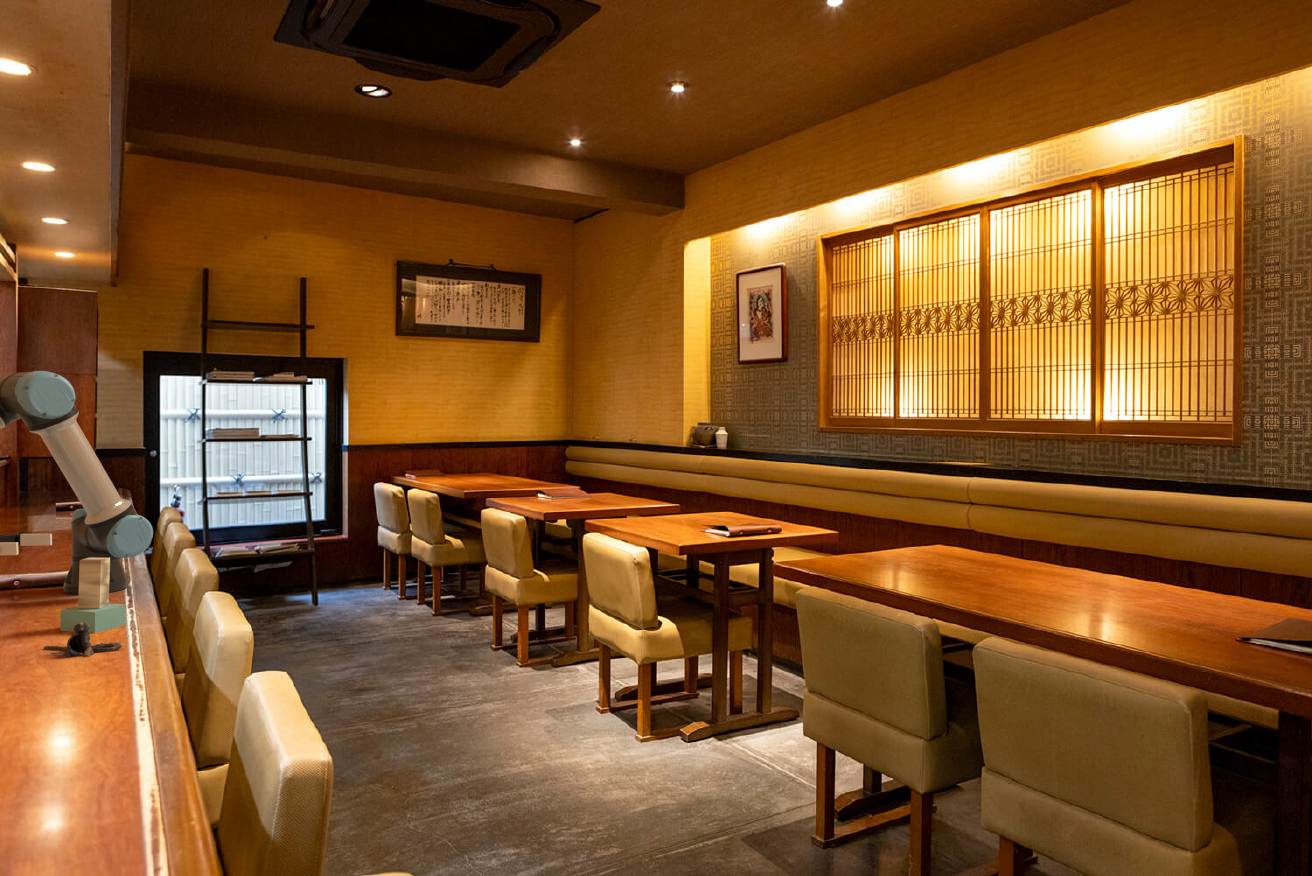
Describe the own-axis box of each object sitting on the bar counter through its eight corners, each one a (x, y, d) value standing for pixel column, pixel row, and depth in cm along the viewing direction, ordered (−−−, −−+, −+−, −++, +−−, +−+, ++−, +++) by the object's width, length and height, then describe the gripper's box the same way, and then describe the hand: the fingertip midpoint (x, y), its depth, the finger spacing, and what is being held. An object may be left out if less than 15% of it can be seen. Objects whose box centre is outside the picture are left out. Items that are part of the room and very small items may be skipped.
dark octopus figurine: (120, 650, 181) (63, 620, 177) (87, 692, 179) (29, 663, 174) (127, 636, 191) (74, 608, 187) (97, 675, 189) (42, 648, 185)
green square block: (92, 623, 208) (92, 602, 208) (125, 625, 207) (126, 604, 206) (60, 631, 199) (60, 609, 199) (94, 634, 198) (95, 612, 198)
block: (87, 604, 205) (89, 557, 205) (108, 604, 206) (110, 557, 206) (78, 608, 201) (79, 560, 201) (99, 608, 201) (101, 560, 201)
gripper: (-32, 552, 211) (64, 551, 214) (-107, 572, 187) (2, 570, 189) (-32, 521, 211) (63, 520, 214) (-108, 536, 186) (1, 535, 189)
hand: (35, 544), depth 202 cm, fingers open, 13 cm apart
